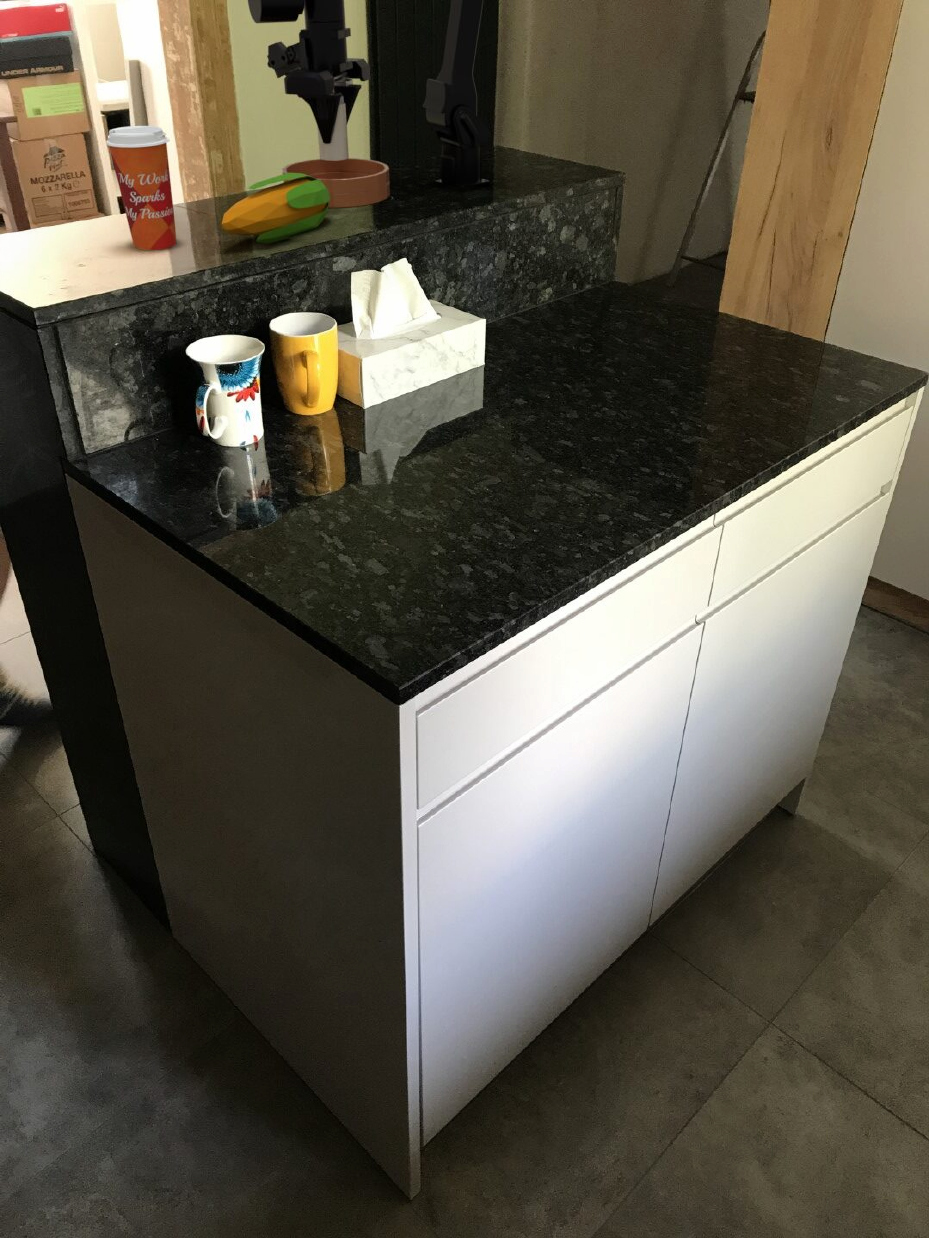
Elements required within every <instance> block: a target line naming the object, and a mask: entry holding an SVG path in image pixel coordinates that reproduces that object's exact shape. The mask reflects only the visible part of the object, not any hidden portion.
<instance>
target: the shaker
mask: <svg viewBox="0 0 929 1238" xmlns="http://www.w3.org/2000/svg"><path fill="white" fill-rule="evenodd" d="M316 127H317V141H318V153H319V159H322V160H326V161H340V160H346V159H348V158H350V157H349V155H350V154H349V141H348V140H349V139H348V123H347V122H346V105H345V103H344V96H343V95H341V98H340V103H339V107H338V112H337V117H336V122H335V127H334V132H333V137H332V141H331V143H330V144H325V143H323V140H322V137H321V135H320V132H319V129H318V126H317V125H316Z"/></svg>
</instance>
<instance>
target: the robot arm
mask: <svg viewBox="0 0 929 1238" xmlns="http://www.w3.org/2000/svg"><path fill="white" fill-rule="evenodd" d="M247 4H248V9H249V13H250V16H251V19H252V20H253V22H254V23H255V24H275V23H278V24H279V23H296V22H297V21H298V19H299V16H300V15H303V14H304V27H305V28H301V29H299V32H298V39H299V40H298V42H296V43H293V44H290V45H288V46H286V44H284V42H282V41H277V42H274V43H272V44H269V45H268V46H267V54H266V58H267V63H266V65H267V67H268V68H270V69H272V70H273V71H274V73H275V76H276V78H277V79H280V78H281V77H284V76H285V77H284V78H283V85H284V94H286V95H294V96H296V97H298V98H299V99H302V100H303V101H304V102H305V103H306V104H307V105H308V106H309V107H310V110H311V112H312V114H313V118H314V120H315V123H316V127H317V126H318V129H319V132H320V135H321V137H322V140H323V143H325V144H330V143H331V141H332V137H333V132H334V127H335V122H336V117H337V112H338V107H339V103H340V98H341V95H343V96H344V103H345V105H346V122H347V124H348V123H349V120H350V117H351V114H352V112H353V109H354V106H355V104H356V100H357V98H358V96H359V92H360V91H361V89H362V84H356V83H355V84H354V80H359V81H360V82H367V81H369V80H371V67H370V64H369V63H368V62H367V61H366V59H365V58H360V57H359V58H354V57H348V45H347V38H349V37H352V33H351V32H352V31H351V27H346V15H345V14H346V12H345V11H346V10H345V0H247ZM483 7H484V0H451V1H450V8H449V16H448V23H447V29H446V30H447V32H446V38H445V45H444V53H443V60H442V67H441V69H440V72H439V73H438V75H437V76H436V79H432V78H427V80H426V86H425V87H426V93H425V94H426V95H425V100H424V102H423V104H422V107H423V108H424V109H425V117H426V120H427V122H428V124H429V126H430V127H431V128H432V129H434V133H435V135H436V138H437V140H438V141H439V142H444V143H443V144H441V156H440V168H441V169H440V178H441V179H437V180H435V182H436V183H441V184H444V185H450V186H456V187H459V188H467V187H470V186H471V187H472V186H474V187H479V186H485V185H489V184H490V180H488V179H485V178H483V148H484V147H488V146H489V145H488V144H489V141H490V139H491V134H492V133H491V130H489V128H488V127H487V126H486V124H484V123H483V121H482V120H481V119H480V118H479V116H478V94H477V89H476V84H475V79H474V67H475V60H476V59H475V58H476V54H477V46H478V39H479V33H480V27H481V19H482V13H483V12H482V11H483ZM318 129H317V130H318Z"/></svg>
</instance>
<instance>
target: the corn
mask: <svg viewBox="0 0 929 1238" xmlns="http://www.w3.org/2000/svg"><path fill="white" fill-rule="evenodd" d="M295 178H297V179H295ZM289 179H293V180H290V181H287V182H284V183H283V181H284V180H289ZM279 182H281V183H279ZM276 183H278V184H276ZM272 184H275V185H272ZM268 185H272V186H269V187H265V186H268ZM263 187H265V188H263ZM259 188H263V189H260V190H258V191H257V192H255V193H253V194H250V195H249V196H247V197H245V198H243V199H241V200H238V201H237V202H235V203H234V204H233V205H232V206H231V207H230V208H229V209H228V210H226V212H224V213H223V217H222V221H221V228H222V229H223V230H225V231H226V232H227V233H228V234H230V235H237V236H253V237H257V239H256V241H255V242H256V243H261V244H263V243H275V242H280V241H283V240H287V239H288V240H289V239H292V238H293V237H294V236H293V235H297V234H300V233H304V232H307V231H311V230H314V229H317V228H318V227H319V226H320V225H321V223H322V222H323V221H324V220H325V217H326V215H327V214H328V209H329V208H328V201H329V200H330V196H329V192H328V190H327V188H326V186H325V185H324V184H323V183H322V182H321V181H318V180H317V179H315V178H313V177H310V176H308V175H305V174H302V173H286V174H283V173H282V174H280V175H277V176H273V177H270V178H267V179H264V180H261V181H258V182H255V183H253V184H252V185H250V186H249V187H248V188H247V189H249V190H256V189H259Z"/></svg>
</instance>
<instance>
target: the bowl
mask: <svg viewBox="0 0 929 1238" xmlns="http://www.w3.org/2000/svg"><path fill="white" fill-rule="evenodd" d="M281 172H282V175H283V174H286V173H302V174H305V175H308V176H310V177H313V178H315V179H317V180H318V181H321V182H322V183H323V184H324V185H325V186H326V188H327V190H328V192H329V196H330V200H329V201H328V209H329V208H331V209H337V208H339V209H340V208H353V207H362V206H363V207H364V206H369V205H373V204H377V203H380V202H382V201H385V200H387V199H388V198H389V197H390V196H391V187H390V168H389V166H388V165H387V164H386V163H384V162H381V161H379V160H372V159H366V158H357V157H349V158H348V159H346V160H340V161H326V160H322V159H320V158H314V159H306V160H301V161H296V162H293V163H289V164H287V165H285V166H283V167H282V169H281ZM295 179H297V178H295ZM290 180H293V179H289V180H284V181H282V183H284V182H287V181H290Z"/></svg>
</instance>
